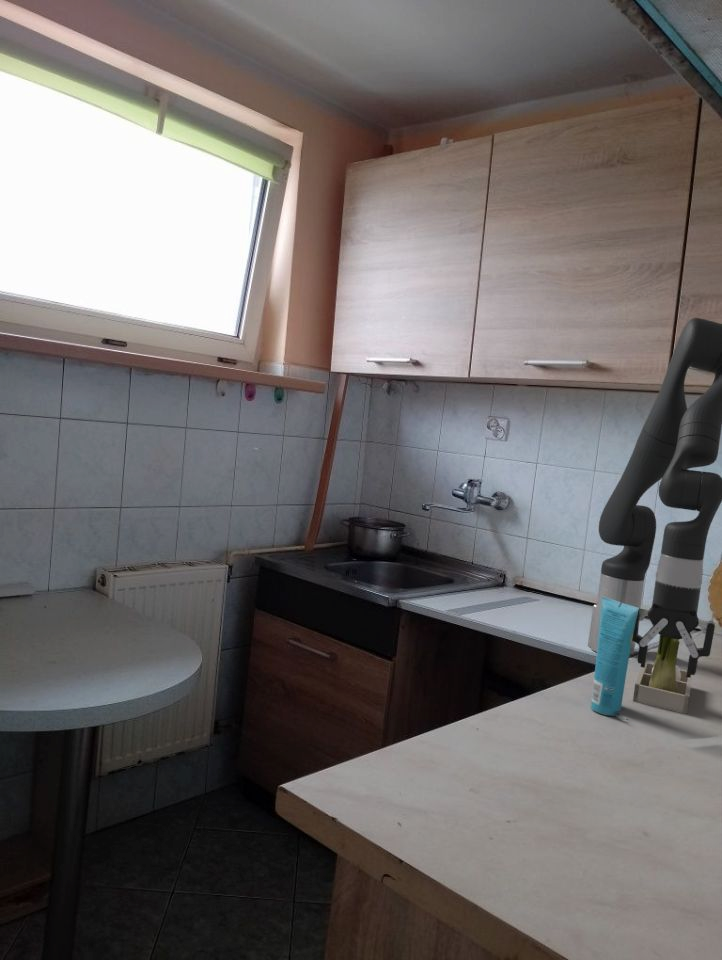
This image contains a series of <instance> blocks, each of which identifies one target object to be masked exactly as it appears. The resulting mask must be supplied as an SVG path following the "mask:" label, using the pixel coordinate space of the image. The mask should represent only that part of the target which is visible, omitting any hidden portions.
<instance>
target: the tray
mask: <svg viewBox="0 0 722 960" xmlns="http://www.w3.org/2000/svg"><path fill="white" fill-rule="evenodd" d="M654 664H655V662H653V663H652V662H648V661H646V665H645V668H643V667H640V671H639V674H638V676H637V677H636V681H635V684H634V688H633V689H634V690H633V696H632V702H636V703H639V704H643V705H646V706H651V707H654V708H655V707H656V708H659V709H664V710H668V711H671V712H677V713H681V714H684V715H688V708H689V701H690V694H691V687H692V680H693V679H692V678H693V675H691V678H689V677H686V676H687V670H685V669H680V668H679V670H680V672H681V680H680V681H678V680H676V682H677V686H678V693H675V692H670V691H666V690H662V689H657V688H653V687H649V681H650V678H651V675H652V668H653V666H654Z"/></svg>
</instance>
